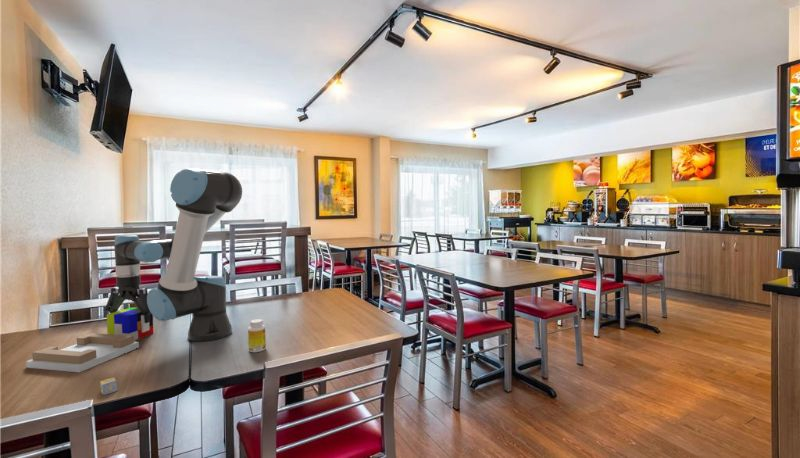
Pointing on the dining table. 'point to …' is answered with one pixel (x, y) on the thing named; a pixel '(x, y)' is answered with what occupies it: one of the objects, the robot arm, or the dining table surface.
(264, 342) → the supplement bottle
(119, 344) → the foundation plate
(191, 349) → the dining table surface
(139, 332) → the puzzle toy
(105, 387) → the alphabet block
